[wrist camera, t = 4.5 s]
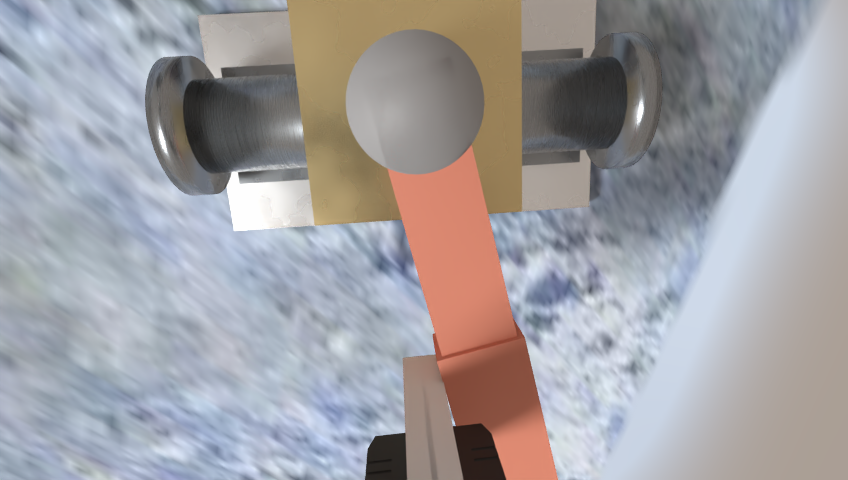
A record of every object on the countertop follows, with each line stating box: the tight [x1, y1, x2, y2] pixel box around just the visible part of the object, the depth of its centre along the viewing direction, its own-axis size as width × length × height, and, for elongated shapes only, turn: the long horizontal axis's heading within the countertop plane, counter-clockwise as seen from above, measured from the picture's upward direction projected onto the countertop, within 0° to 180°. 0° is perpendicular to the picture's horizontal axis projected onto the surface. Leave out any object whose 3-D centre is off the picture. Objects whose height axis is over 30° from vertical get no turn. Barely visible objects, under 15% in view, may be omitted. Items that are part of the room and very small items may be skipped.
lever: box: [346, 29, 558, 480], centre depth 15 cm, size 16×4×2 cm, turn 15°
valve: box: [145, 0, 662, 231], centre depth 20 cm, size 12×22×12 cm, turn 93°
